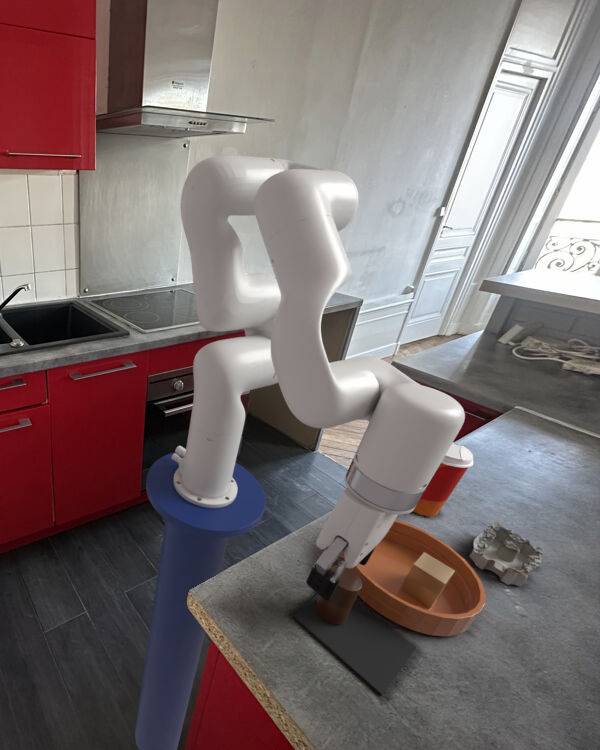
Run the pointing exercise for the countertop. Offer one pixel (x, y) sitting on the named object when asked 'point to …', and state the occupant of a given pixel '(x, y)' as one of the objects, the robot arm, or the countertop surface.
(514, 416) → the countertop surface
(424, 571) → the birch block
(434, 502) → the paper cup
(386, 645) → the mat
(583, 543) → the countertop surface
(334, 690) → the countertop surface
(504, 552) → the egg carton
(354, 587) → the walnut cylinder
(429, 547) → the pan
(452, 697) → the countertop surface
